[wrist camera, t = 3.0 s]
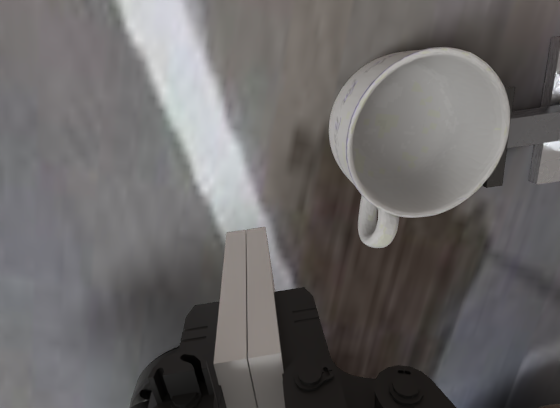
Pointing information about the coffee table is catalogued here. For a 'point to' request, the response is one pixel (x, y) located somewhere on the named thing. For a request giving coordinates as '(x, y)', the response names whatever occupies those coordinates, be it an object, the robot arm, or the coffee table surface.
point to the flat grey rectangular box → (553, 155)
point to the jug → (551, 406)
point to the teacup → (418, 134)
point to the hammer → (526, 132)
